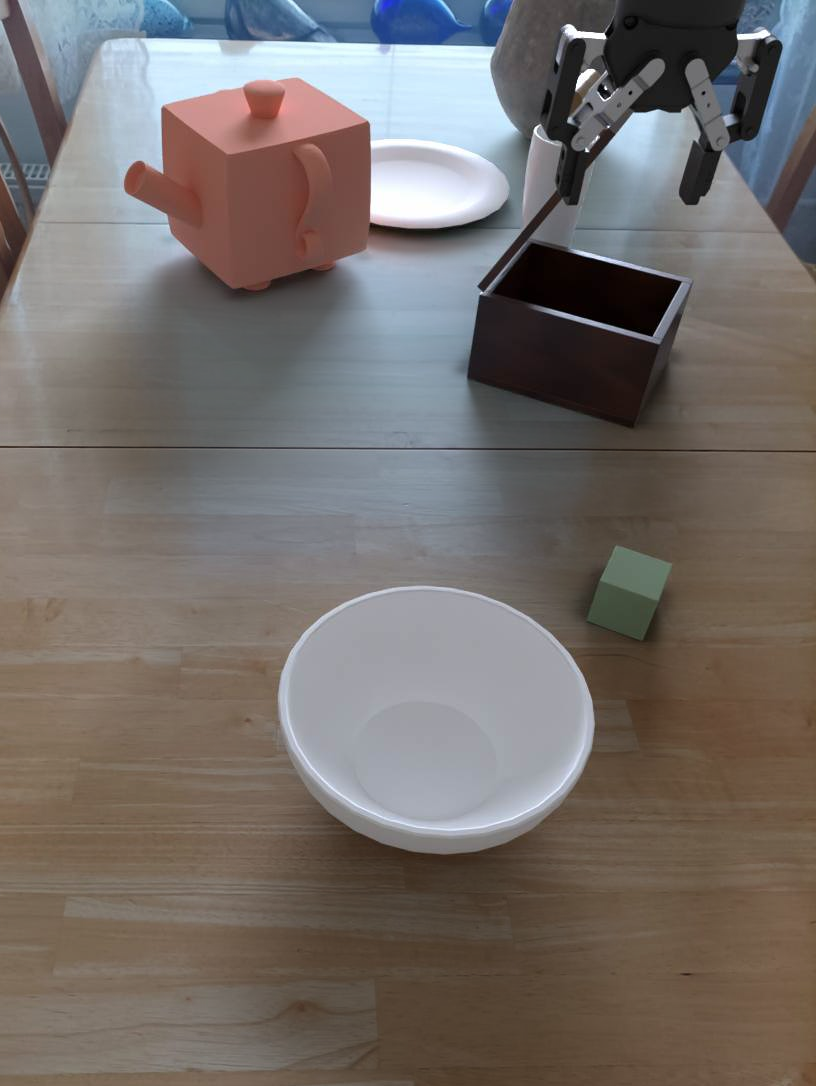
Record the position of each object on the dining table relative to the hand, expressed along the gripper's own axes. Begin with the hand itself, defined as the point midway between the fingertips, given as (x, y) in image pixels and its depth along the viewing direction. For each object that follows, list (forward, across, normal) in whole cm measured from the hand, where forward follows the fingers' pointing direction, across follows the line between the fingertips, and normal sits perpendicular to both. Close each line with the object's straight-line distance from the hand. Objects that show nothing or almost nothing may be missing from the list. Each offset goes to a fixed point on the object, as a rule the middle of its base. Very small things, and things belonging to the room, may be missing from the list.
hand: (628, 200), depth 68 cm
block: (+24, +1, -17) cm, 30 cm away
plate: (+24, -6, +56) cm, 61 cm away
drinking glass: (+24, +6, +35) cm, 43 cm away
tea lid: (+7, +2, +18) cm, 20 cm away
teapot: (+24, -27, +38) cm, 53 cm away
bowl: (+24, -16, -30) cm, 42 cm away
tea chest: (+24, +5, +16) cm, 29 cm away
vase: (+24, +17, +73) cm, 79 cm away
